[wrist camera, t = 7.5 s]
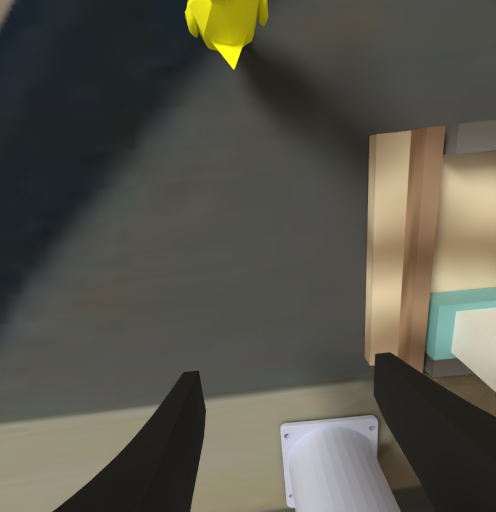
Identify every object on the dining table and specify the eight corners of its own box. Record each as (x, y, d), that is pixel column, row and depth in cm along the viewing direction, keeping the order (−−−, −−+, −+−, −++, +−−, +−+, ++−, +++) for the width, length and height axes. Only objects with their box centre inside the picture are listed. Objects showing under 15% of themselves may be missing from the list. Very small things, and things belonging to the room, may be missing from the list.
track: (520, 341, 23) (557, 365, 20) (364, 357, 23) (381, 382, 20) (566, 115, 18) (623, 106, 15) (369, 135, 18) (391, 131, 15)
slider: (490, 337, 21) (568, 391, 16) (418, 344, 21) (473, 400, 16) (498, 286, 20) (586, 327, 15) (422, 294, 20) (483, 337, 15)
